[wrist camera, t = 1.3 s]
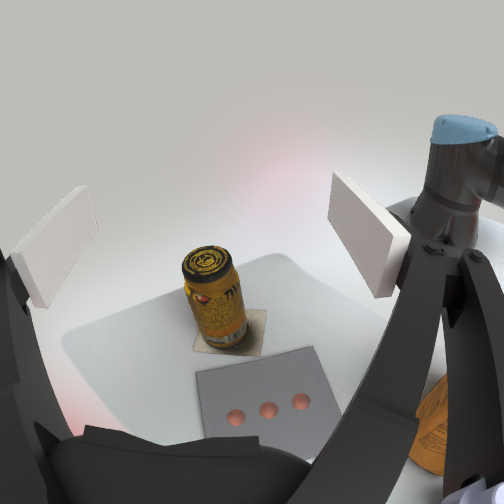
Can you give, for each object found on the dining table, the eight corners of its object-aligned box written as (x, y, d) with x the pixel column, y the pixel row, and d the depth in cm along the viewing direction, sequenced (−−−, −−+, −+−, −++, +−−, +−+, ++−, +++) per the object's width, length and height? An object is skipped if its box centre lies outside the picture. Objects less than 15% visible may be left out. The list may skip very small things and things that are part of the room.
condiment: (206, 308, 40) (185, 239, 32) (266, 311, 38) (259, 239, 31) (193, 351, 34) (162, 285, 27) (260, 357, 33) (250, 289, 25)
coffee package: (496, 408, 21) (611, 276, 7) (442, 491, 16) (613, 402, 2) (445, 367, 27) (534, 214, 14) (384, 441, 22) (510, 306, 9)
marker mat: (312, 348, 33) (312, 345, 33) (351, 444, 23) (352, 442, 23) (197, 375, 32) (196, 372, 31) (215, 479, 22) (213, 478, 21)
